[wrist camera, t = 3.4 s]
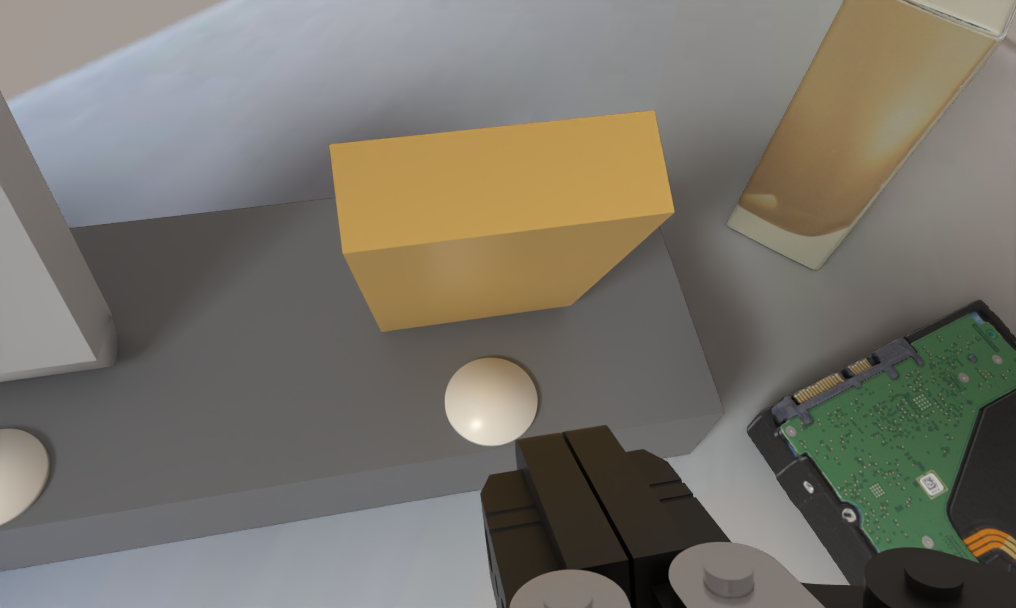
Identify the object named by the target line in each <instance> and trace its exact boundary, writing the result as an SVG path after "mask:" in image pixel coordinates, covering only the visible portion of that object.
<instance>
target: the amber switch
mask: <svg viewBox="0 0 1016 608" xmlns="http://www.w3.org/2000/svg"><path fill="white" fill-rule="evenodd" d="M329 147H330V155H331V164H332V172H333V180H334V188H335V196H336V204H337V212H338V220H339V228H340V236H341V244H342V252H343V255H344V257H345V259H346V262H347V264H348V266H349V268H350V270H351V272H352V274H353V276H354V278H355V280H356V282H357V284H358V286H359V288H360V290H361V292H362V294H363V296H364V298H365V300H366V302H367V304H368V306H369V308H370V310H371V312H372V314H373V316H374V318H375V320H376V322H377V324H378V326H379V328H380V330H381V332H386V331H393V330H400V329H407V328H414V327H422V326H429V325H436V324H443V323H450V322H457V321H465V320H472V319H479V318H486V317H493V316H500V315H507V314H515V313H522V312H529V311H536V310H543V309H550V308H558V307H565V306H571V305H572V304H573V303H574V302H575V301H576V300H578V299H579V298H580V297H581V296H582V295H583V294H584V293H585V292H587V291H588V290H589V289H590V288H591V287H592V286H593V285H594V284H595V283H597V282H598V281H599V280H600V279H601V278H602V277H603V276H604V275H605V274H607V273H608V272H609V271H610V270H611V269H612V268H613V267H614V266H615V265H617V264H618V263H619V262H620V261H621V260H622V259H623V258H624V257H626V256H627V255H628V254H629V253H630V252H631V251H632V250H633V249H634V248H636V247H637V246H638V245H639V244H640V243H641V242H642V241H643V240H644V239H646V238H647V237H648V236H649V235H650V234H651V233H652V232H653V231H654V230H656V229H657V228H658V227H659V226H660V225H661V224H662V223H663V222H665V221H666V220H667V219H668V218H669V217H670V216H671V215H672V214H673V213H675V211H674V206H673V201H672V196H671V191H670V186H669V181H668V176H667V171H666V166H665V161H664V156H663V151H662V146H661V141H660V135H659V130H658V125H657V120H656V115H655V110H650V111H641V112H631V113H622V114H612V115H603V116H593V117H584V118H574V119H565V120H555V121H546V122H536V123H527V124H517V125H508V126H498V127H489V128H479V129H470V130H460V131H451V132H441V133H432V134H422V135H413V136H403V137H394V138H384V139H375V140H365V141H356V142H346V143H337V144H329Z"/></svg>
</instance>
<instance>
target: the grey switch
mask: <svg viewBox="0 0 1016 608" xmlns="http://www.w3.org/2000/svg"><path fill="white" fill-rule="evenodd" d="M117 352H118V338H117V332H116V328H115V324H114V321H113V319H112V313H111V311H110V309H109V307H108V305H107V303H106V301H105V299H104V297H103V295H102V293H101V291H100V289H99V287H98V285H97V283H96V281H95V279H94V277H93V275H92V273H91V271H90V269H89V267H88V265H87V263H86V261H85V259H84V257H83V255H82V253H81V251H80V249H79V247H78V245H77V243H76V241H75V239H74V237H73V235H72V233H71V231H70V229H69V227H68V225H67V223H66V221H65V219H64V217H63V215H62V213H61V211H60V209H59V207H58V205H57V203H56V201H55V199H54V197H53V195H52V193H51V191H50V189H49V187H48V185H47V183H46V181H45V179H44V177H43V175H42V173H41V171H40V169H39V167H38V165H37V163H36V161H35V159H34V157H33V155H32V153H31V151H30V149H29V147H28V145H27V143H26V141H25V139H24V137H23V135H22V133H21V131H20V129H19V127H18V125H17V123H16V121H15V119H14V117H13V115H12V113H11V111H10V109H9V107H8V105H7V103H6V101H5V99H4V97H3V96H2V94H1V92H0V382H5V381H12V380H20V379H27V378H34V377H41V376H48V375H56V374H63V373H70V372H77V371H84V370H91V369H99V368H106V367H111V366H112V365H113V364H114V362H115V360H116V357H117Z"/></svg>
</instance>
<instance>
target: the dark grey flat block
mask: <svg viewBox="0 0 1016 608" xmlns="http://www.w3.org/2000/svg"><path fill="white" fill-rule="evenodd" d="M69 229H70V231H71V233H72V235H73V237H74V239H75V241H76V243H77V245H78V247H79V249H80V251H81V253H82V255H83V257H84V259H85V261H86V263H87V265H88V267H89V269H90V271H91V273H92V275H93V277H94V279H95V281H96V283H97V285H98V287H99V289H100V291H101V293H102V295H103V297H104V299H105V301H106V303H107V305H108V307H109V309H110V311H111V313H112V319H113V321H114V324H115V328H116V332H117V338H118V352H117V357H116V360H115V362H114V364H113V365H112V366H111V367H106V368H99V369H91V370H84V371H77V372H70V373H63V374H56V375H48V376H41V377H34V378H27V379H20V380H12V381H5V382H0V571H6V570H12V569H18V568H24V567H30V566H36V565H41V564H47V563H53V562H59V561H65V560H71V559H77V558H82V557H88V556H94V555H100V554H106V553H112V552H118V551H123V550H129V549H135V548H141V547H147V546H153V545H159V544H164V543H170V542H176V541H182V540H188V539H194V538H200V537H205V536H211V535H217V534H223V533H229V532H235V531H240V530H246V529H252V528H258V527H264V526H270V525H276V524H281V523H287V522H293V521H299V520H305V519H311V518H317V517H322V516H328V515H334V514H340V513H346V512H352V511H358V510H363V509H369V508H375V507H381V506H387V505H393V504H399V503H404V502H410V501H416V500H422V499H428V498H434V497H440V496H445V495H451V494H457V493H463V492H469V491H475V490H481V489H483V487H484V485H485V483H486V481H487V479H488V477H489V475H491V474H497V473H503V472H509V471H515V470H517V463H516V453H515V440H516V439H522V438H528V437H534V436H540V435H546V434H553V433H562V432H564V431H570V430H577V429H583V428H589V427H595V426H601V425H607V426H608V427H609V429H610V430H611V432H612V433H613V434H614V436H615V437H616V439H617V440H618V442H619V443H620V445H621V446H622V447H623V449H624V450H625V452H628V451H634V450H640V449H644V450H646V451H648V452H650V453H652V454H654V455H656V456H658V457H660V458H661V459H662V458H668V457H674V456H680V455H685V454H690V453H691V452H692V451H693V450H694V448H695V447H696V446H697V445H698V444H699V442H700V441H701V440H702V439H703V438H704V436H705V435H706V434H707V433H708V432H709V430H710V429H711V428H712V427H713V426H714V424H715V423H716V422H717V421H718V420H719V418H720V417H721V416H722V415H723V414H724V409H723V407H722V404H721V401H720V398H719V395H718V392H717V389H716V387H715V384H714V381H713V378H712V375H711V372H710V369H709V367H708V364H707V361H706V358H705V355H704V352H703V349H702V347H701V344H700V341H699V338H698V335H697V332H696V329H695V327H694V324H693V321H692V318H691V315H690V312H689V309H688V307H687V304H686V301H685V298H684V295H683V292H682V290H681V287H680V284H679V281H678V278H677V275H676V272H675V270H674V267H673V264H672V261H671V258H670V255H669V252H668V250H667V247H666V244H665V241H664V238H663V235H662V232H661V230H660V227H658V228H657V229H656V230H654V231H653V232H652V233H651V234H650V235H649V236H648V237H647V238H646V239H644V240H643V241H642V242H641V243H640V244H639V245H638V246H637V247H636V248H634V249H633V250H632V251H631V252H630V253H629V254H628V255H627V256H626V257H624V258H623V259H622V260H621V261H620V262H619V263H618V264H617V265H615V266H614V267H613V268H612V269H611V270H610V271H609V272H608V273H607V274H605V275H604V276H603V277H602V278H601V279H600V280H599V281H598V282H597V283H595V284H594V285H593V286H592V287H591V288H590V289H589V290H588V291H587V292H585V293H584V294H583V295H582V296H581V297H580V298H579V299H578V300H576V301H575V302H574V303H573V304H572V305H571V306H565V307H558V308H550V309H543V310H536V311H529V312H522V313H515V314H507V315H500V316H493V317H486V318H479V319H472V320H465V321H457V322H450V323H443V324H436V325H429V326H422V327H414V328H407V329H400V330H393V331H386V332H381V330H380V328H379V326H378V324H377V322H376V320H375V318H374V316H373V314H372V312H371V310H370V308H369V306H368V304H367V302H366V300H365V298H364V296H363V294H362V292H361V290H360V288H359V286H358V284H357V282H356V280H355V278H354V276H353V274H352V272H351V270H350V268H349V266H348V264H347V262H346V259H345V257H344V255H343V252H342V244H341V236H340V228H339V220H338V212H337V204H336V198H329V199H320V200H311V201H303V202H294V203H285V204H276V205H268V206H259V207H250V208H242V209H233V210H224V211H215V212H207V213H198V214H189V215H181V216H172V217H163V218H154V219H146V220H137V221H128V222H120V223H111V224H102V225H94V226H85V227H76V228H69Z"/></svg>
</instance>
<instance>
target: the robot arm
mask: <svg viewBox="0 0 1016 608" xmlns="http://www.w3.org/2000/svg"><path fill="white" fill-rule="evenodd" d="M515 453H516V463H517V470H515V471H509V472H503V473H497V474H491V475H489V477H488V479H487V481H486V483H485V485H484V487H483V489H482V491H481V493H480V495H481V503H482V512H483V520H484V528H485V537H486V545H487V553H488V561H489V570H490V578H491V582H492V587H493V591H494V596H495V600H496V605H497V608H1016V574H1014V573H1011V572H1007V571H1004V570H1001V569H998V568H994V567H991V566H988V565H985V564H981V563H978V562H975V561H972V560H968V559H965V558H962V557H959V556H955V555H952V554H949V553H945V552H941V551H937V550H932V549H926V548H916V547H902V548H893V549H889V550H885V551H882V552H880V553H877V554H876V555H874V556H873V557H871V558H870V560H869V561H868V562H867V564H866V566H865V569H864V586H850V585H824V584H808V583H801V582H799V581H798V580H797V579H796V578H795V577H794V576H793V575H792V574H791V573H790V572H789V571H788V570H787V569H786V568H785V567H784V566H783V565H782V564H781V563H779V562H778V561H777V560H776V559H775V558H773V557H772V556H770V555H769V554H767V553H765V552H763V551H761V550H759V549H756V548H753V547H750V546H747V545H743V544H738V543H732V542H731V541H730V540H729V539H728V537H727V536H726V535H725V533H724V532H723V531H722V530H721V528H720V527H719V526H718V525H717V523H716V522H715V521H714V520H713V518H712V517H711V516H710V515H709V513H708V512H707V511H706V510H705V508H704V507H703V506H702V505H701V503H700V502H699V501H698V499H697V498H696V497H695V498H694V497H693V493H692V492H691V491H690V489H689V488H688V487H687V486H686V484H685V483H682V481H681V478H680V477H679V476H678V474H677V473H676V472H675V471H674V469H673V468H672V467H671V466H670V464H669V463H668V462H667V461H665V460H663V459H661V458H660V457H658V456H656V455H654V454H652V453H650V452H648V451H646V450H644V449H640V450H634V451H628V452H625V450H624V449H623V447H622V446H621V445H620V443H619V442H618V440H617V439H616V437H615V436H614V434H613V433H612V432H611V430H610V429H609V427H608V426H607V425H601V426H595V427H589V428H583V429H577V430H570V431H564V432H562V433H553V434H546V435H540V436H534V437H528V438H522V439H516V440H515Z"/></svg>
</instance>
